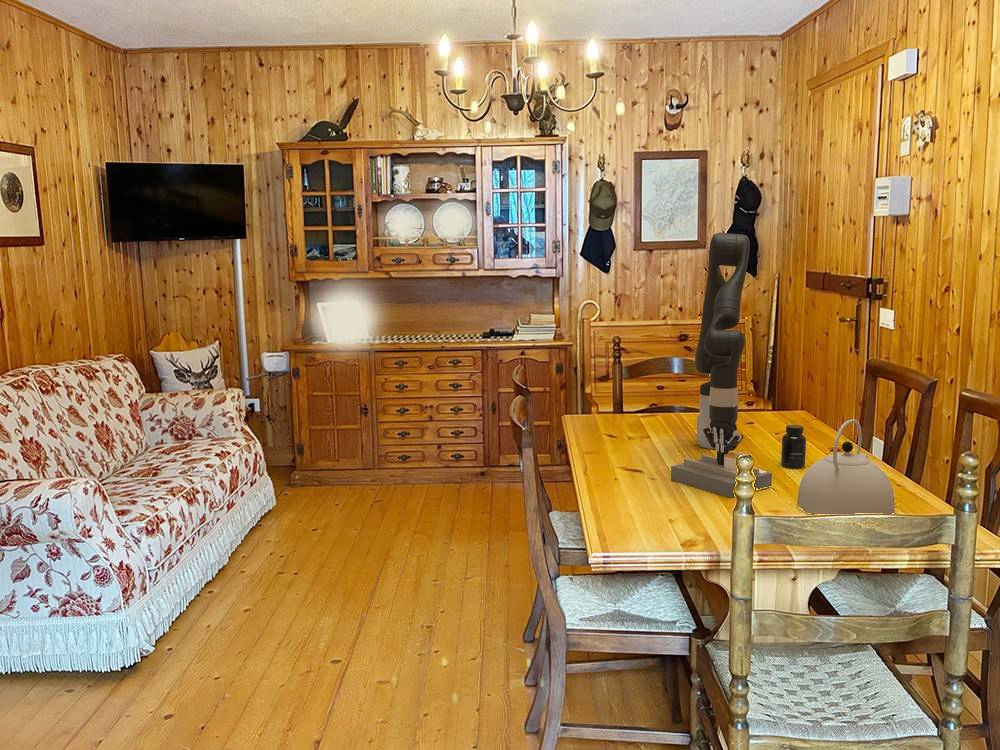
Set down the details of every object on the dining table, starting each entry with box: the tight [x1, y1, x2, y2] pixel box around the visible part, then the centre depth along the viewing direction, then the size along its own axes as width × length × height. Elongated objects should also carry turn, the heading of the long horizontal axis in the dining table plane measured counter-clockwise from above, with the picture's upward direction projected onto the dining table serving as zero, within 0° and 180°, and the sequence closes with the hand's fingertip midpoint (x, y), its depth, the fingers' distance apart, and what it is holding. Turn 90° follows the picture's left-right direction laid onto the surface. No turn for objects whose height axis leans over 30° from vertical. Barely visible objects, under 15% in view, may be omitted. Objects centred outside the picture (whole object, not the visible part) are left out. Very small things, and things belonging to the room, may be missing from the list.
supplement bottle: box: [780, 424, 807, 469], centre depth 254 cm, size 7×7×12 cm
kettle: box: [797, 418, 896, 516], centre depth 215 cm, size 25×23×22 cm
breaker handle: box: [724, 451, 746, 472], centre depth 235 cm, size 3×5×5 cm, turn 124°
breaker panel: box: [670, 453, 773, 499], centre depth 239 cm, size 22×16×6 cm
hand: (722, 464), depth 238 cm, fingers closed
